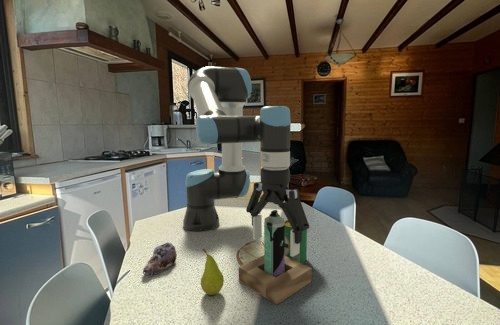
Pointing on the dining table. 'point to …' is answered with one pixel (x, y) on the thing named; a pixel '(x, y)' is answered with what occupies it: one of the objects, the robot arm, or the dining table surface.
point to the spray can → (274, 244)
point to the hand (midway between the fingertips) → (274, 245)
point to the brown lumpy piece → (161, 258)
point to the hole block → (275, 279)
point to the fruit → (211, 277)
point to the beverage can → (303, 245)
